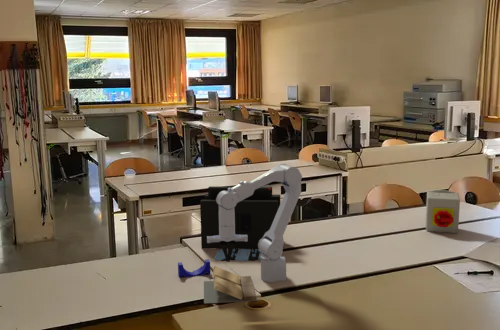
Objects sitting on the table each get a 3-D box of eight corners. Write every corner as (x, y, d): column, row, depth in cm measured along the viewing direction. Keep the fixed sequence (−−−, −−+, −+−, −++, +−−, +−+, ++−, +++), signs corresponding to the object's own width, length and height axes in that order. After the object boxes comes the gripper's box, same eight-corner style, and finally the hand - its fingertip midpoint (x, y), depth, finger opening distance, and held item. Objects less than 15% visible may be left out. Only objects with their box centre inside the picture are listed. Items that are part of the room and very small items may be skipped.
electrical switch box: (425, 238, 257) (427, 199, 251) (425, 226, 270) (427, 189, 264) (458, 240, 252) (461, 201, 246) (456, 228, 266) (458, 190, 260)
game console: (280, 240, 251) (280, 184, 246) (277, 261, 221) (277, 198, 217) (207, 239, 254) (205, 184, 250) (194, 260, 224) (192, 198, 220)
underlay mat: (251, 281, 200) (251, 279, 200) (257, 302, 180) (257, 300, 180) (203, 283, 198) (203, 281, 198) (204, 305, 179) (203, 303, 178)
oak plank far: (237, 279, 199) (239, 275, 199) (239, 287, 190) (240, 284, 190) (212, 269, 197) (214, 266, 197) (213, 277, 189) (215, 274, 189)
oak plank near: (239, 289, 188) (241, 286, 188) (241, 299, 180) (243, 296, 180) (213, 279, 187) (215, 276, 187) (214, 289, 179) (215, 285, 178)
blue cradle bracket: (208, 272, 210) (207, 258, 209) (210, 276, 206) (210, 261, 205) (177, 276, 207) (177, 261, 206) (179, 280, 202) (178, 265, 201)
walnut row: (250, 279, 199) (250, 275, 199) (255, 300, 180) (255, 296, 180) (240, 280, 199) (239, 276, 199) (244, 300, 180) (243, 296, 180)
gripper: (206, 228, 186) (207, 265, 188) (248, 226, 187) (248, 263, 190) (206, 223, 193) (207, 259, 195) (246, 221, 194) (247, 257, 196)
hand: (227, 260), depth 193 cm, fingers closed
